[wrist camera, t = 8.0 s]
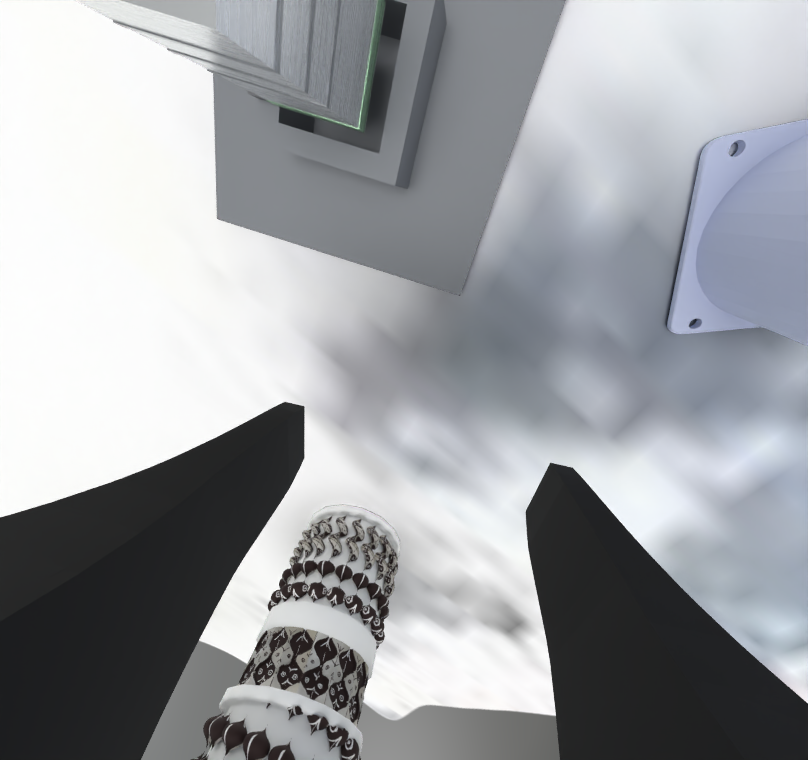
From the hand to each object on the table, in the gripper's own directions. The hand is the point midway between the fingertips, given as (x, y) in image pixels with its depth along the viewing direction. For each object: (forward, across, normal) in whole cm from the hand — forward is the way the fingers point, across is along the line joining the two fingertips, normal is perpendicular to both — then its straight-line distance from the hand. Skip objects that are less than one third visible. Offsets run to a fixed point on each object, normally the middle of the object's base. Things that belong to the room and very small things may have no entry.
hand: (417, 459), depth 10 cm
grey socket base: (+10, +5, -10) cm, 15 cm away
